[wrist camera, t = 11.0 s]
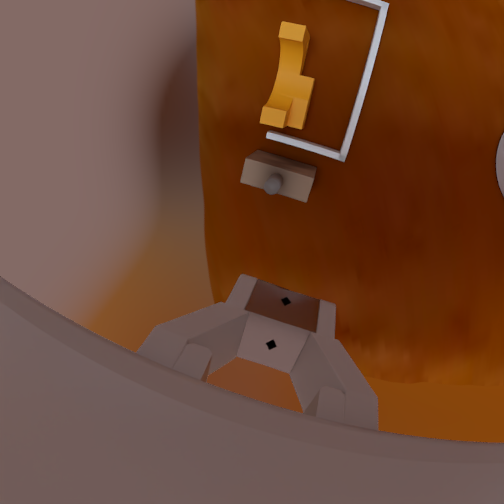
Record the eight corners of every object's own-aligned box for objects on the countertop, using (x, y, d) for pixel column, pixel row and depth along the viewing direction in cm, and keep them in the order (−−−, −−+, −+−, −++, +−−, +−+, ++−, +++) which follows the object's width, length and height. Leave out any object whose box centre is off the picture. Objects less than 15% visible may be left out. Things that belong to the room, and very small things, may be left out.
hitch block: (316, 167, 40) (312, 185, 32) (310, 188, 41) (303, 211, 33) (257, 149, 41) (238, 163, 33) (252, 170, 42) (232, 189, 34)
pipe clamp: (303, 127, 38) (298, 132, 32) (270, 119, 38) (259, 122, 33) (324, 40, 32) (322, 29, 26) (290, 32, 32) (281, 21, 27)
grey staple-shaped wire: (386, 7, 27) (389, 3, 26) (344, 159, 38) (344, 162, 37) (308, -15, 28) (306, -20, 27) (269, 135, 39) (265, 137, 38)
